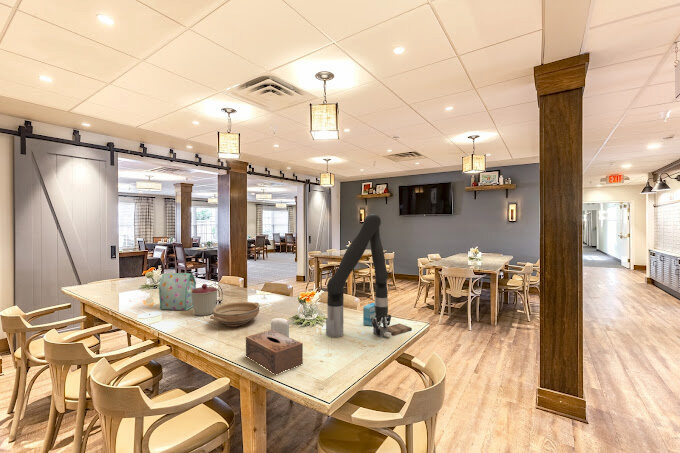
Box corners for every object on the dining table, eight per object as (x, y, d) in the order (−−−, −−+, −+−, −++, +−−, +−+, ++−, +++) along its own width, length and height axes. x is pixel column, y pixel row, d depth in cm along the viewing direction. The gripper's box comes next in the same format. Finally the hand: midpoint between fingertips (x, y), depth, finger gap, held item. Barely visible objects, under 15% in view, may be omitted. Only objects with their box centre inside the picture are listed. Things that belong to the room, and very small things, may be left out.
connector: (392, 337, 175) (392, 330, 175) (386, 339, 172) (386, 332, 172) (377, 331, 185) (377, 324, 185) (371, 332, 182) (371, 326, 182)
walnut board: (393, 335, 178) (393, 332, 178) (381, 330, 186) (381, 327, 186) (411, 330, 187) (411, 327, 187) (399, 325, 195) (399, 323, 195)
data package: (369, 326, 194) (369, 307, 193) (363, 325, 196) (363, 306, 196) (379, 321, 203) (379, 303, 203) (373, 320, 206) (373, 302, 206)
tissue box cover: (302, 365, 142) (302, 343, 142) (275, 376, 132) (275, 352, 132) (271, 348, 161) (271, 329, 161) (245, 357, 151) (245, 336, 150)
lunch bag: (198, 305, 243) (198, 271, 242) (186, 311, 226) (185, 274, 226) (170, 304, 245) (170, 270, 245) (156, 310, 229) (156, 274, 228)
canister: (212, 317, 212) (211, 286, 212) (185, 317, 212) (185, 286, 212) (222, 310, 230) (222, 281, 230) (198, 310, 230) (197, 281, 230)
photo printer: (290, 340, 171) (290, 318, 171) (286, 343, 167) (286, 320, 167) (273, 338, 174) (273, 316, 174) (269, 341, 170) (269, 318, 170)
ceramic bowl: (228, 336, 177) (228, 318, 177) (196, 327, 192) (196, 311, 191) (273, 318, 210) (273, 303, 209) (242, 312, 224) (242, 298, 224)
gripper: (376, 308, 172) (376, 339, 172) (395, 304, 180) (394, 333, 180) (367, 305, 178) (367, 335, 178) (385, 301, 186) (385, 329, 186)
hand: (381, 334), depth 179 cm, fingers closed on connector, 4 cm apart
